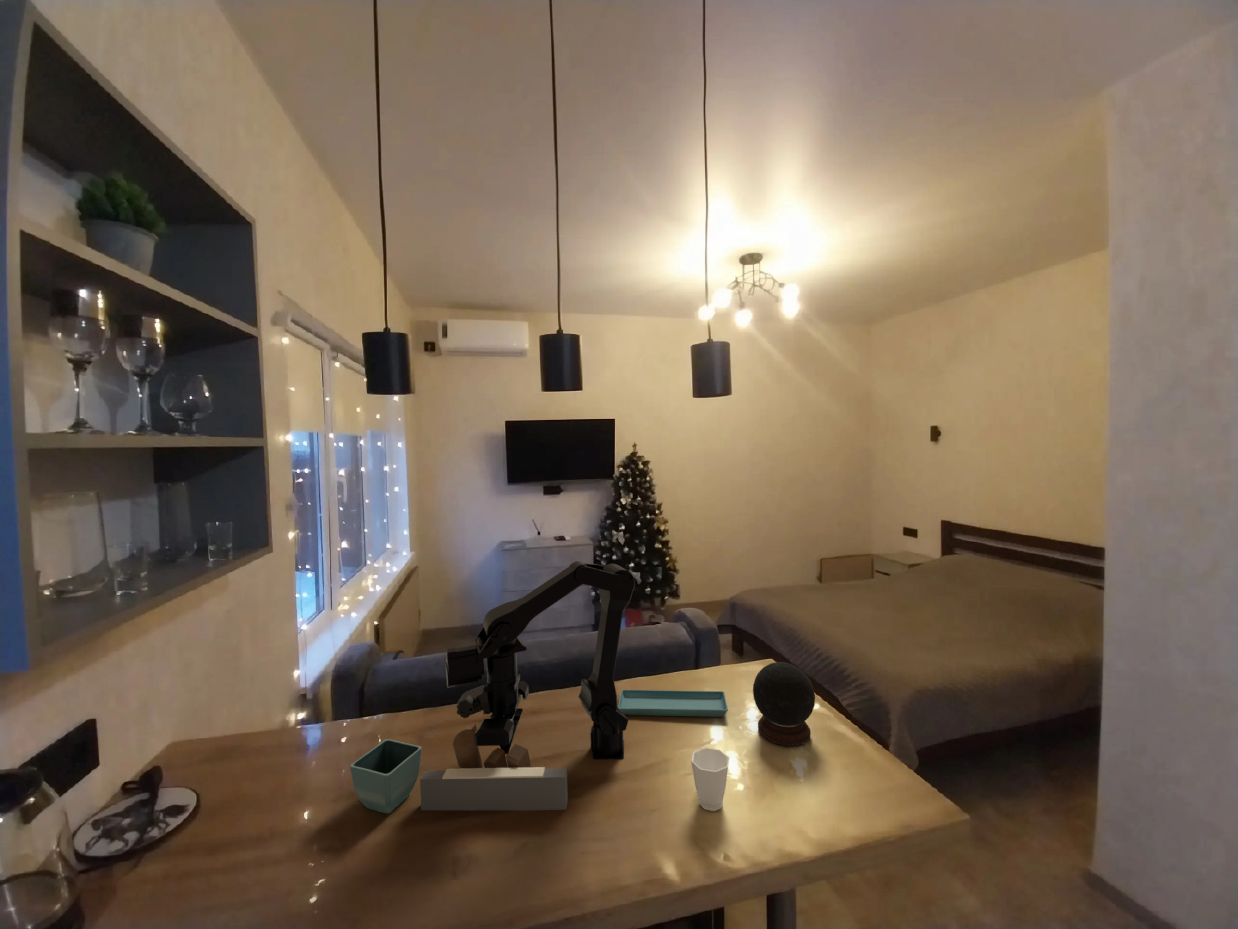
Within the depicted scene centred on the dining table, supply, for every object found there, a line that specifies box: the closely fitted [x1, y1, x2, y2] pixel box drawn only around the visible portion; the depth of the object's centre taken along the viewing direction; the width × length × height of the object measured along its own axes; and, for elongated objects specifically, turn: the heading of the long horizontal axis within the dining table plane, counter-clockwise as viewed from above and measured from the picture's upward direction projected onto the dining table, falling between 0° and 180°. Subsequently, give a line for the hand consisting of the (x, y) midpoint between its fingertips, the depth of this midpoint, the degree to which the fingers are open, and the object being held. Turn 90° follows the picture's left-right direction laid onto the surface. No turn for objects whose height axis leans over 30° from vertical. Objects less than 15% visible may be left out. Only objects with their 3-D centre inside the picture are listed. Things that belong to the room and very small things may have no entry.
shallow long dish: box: [617, 689, 729, 718], centre depth 123 cm, size 26×9×2 cm, turn 84°
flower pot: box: [349, 738, 423, 815], centre depth 92 cm, size 9×9×9 cm
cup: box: [690, 747, 730, 812], centre depth 91 cm, size 7×10×8 cm
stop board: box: [419, 766, 569, 811], centre depth 90 cm, size 26×2×6 cm, turn 89°
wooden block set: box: [452, 723, 532, 768], centre depth 97 cm, size 18×9×10 cm, turn 64°
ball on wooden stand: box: [752, 661, 816, 747], centre depth 111 cm, size 13×13×15 cm
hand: (505, 753), depth 98 cm, fingers closed
